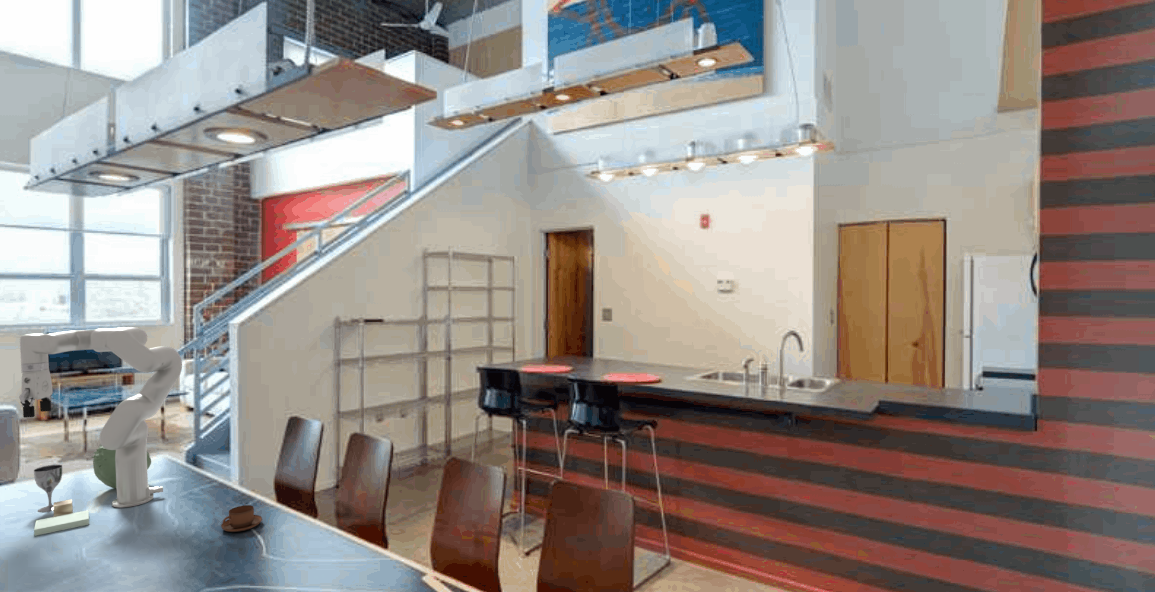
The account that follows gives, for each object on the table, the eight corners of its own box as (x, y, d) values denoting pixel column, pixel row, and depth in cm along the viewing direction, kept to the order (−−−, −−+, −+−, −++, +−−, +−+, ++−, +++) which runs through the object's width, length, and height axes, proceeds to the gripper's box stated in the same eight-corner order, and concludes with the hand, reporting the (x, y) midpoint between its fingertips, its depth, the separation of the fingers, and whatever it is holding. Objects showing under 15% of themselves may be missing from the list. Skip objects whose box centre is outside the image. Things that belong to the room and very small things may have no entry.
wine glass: (70, 504, 229) (68, 464, 229) (50, 513, 221) (47, 471, 221) (50, 504, 230) (48, 464, 229) (29, 512, 222) (27, 471, 221)
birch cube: (72, 512, 221) (72, 499, 221) (72, 517, 217) (71, 503, 217) (54, 516, 218) (53, 502, 218) (54, 520, 214) (53, 506, 214)
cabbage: (159, 483, 251) (157, 434, 250) (104, 498, 235) (102, 446, 234) (141, 477, 259) (138, 429, 258) (87, 491, 243) (84, 441, 242)
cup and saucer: (244, 536, 199) (243, 517, 199) (212, 533, 202) (211, 515, 201) (270, 521, 211) (269, 503, 211) (239, 519, 213) (238, 501, 213)
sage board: (88, 515, 218) (88, 509, 218) (89, 524, 210) (88, 518, 210) (36, 526, 210) (36, 520, 210) (34, 535, 202) (34, 529, 202)
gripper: (32, 370, 218) (34, 418, 218) (61, 363, 235) (63, 408, 235) (7, 371, 216) (9, 420, 217) (37, 364, 233) (40, 409, 234)
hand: (37, 414), depth 226 cm, fingers open, 9 cm apart
